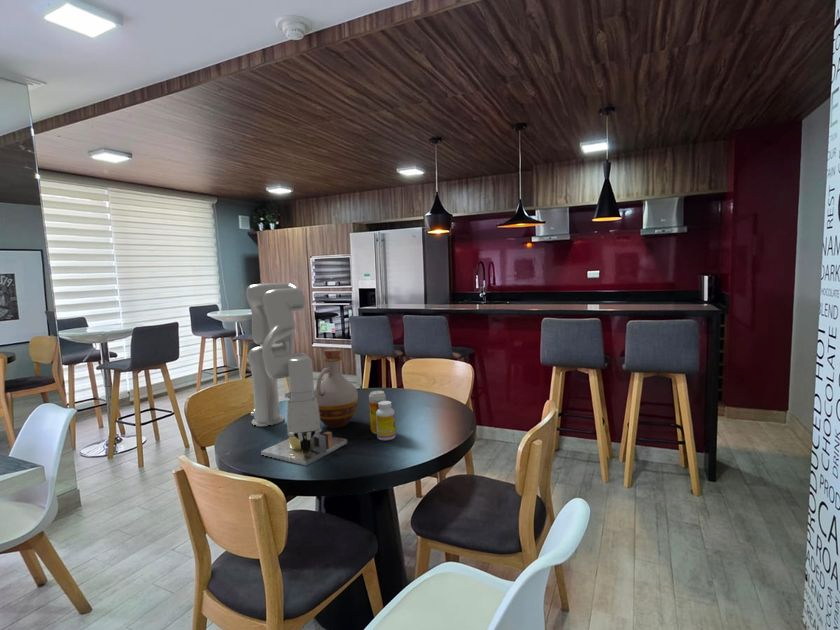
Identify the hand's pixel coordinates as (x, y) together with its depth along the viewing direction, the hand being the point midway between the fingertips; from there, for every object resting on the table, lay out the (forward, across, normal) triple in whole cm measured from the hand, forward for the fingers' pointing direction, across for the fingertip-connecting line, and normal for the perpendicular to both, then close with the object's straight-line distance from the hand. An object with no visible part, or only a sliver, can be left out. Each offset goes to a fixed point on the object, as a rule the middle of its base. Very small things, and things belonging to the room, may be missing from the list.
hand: (306, 451), depth 142 cm
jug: (+3, +10, +30) cm, 31 cm away
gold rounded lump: (+1, +1, +6) cm, 6 cm away
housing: (+3, -1, +8) cm, 9 cm away
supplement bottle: (+3, +27, +10) cm, 29 cm away
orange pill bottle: (+3, +25, +17) cm, 31 cm away
